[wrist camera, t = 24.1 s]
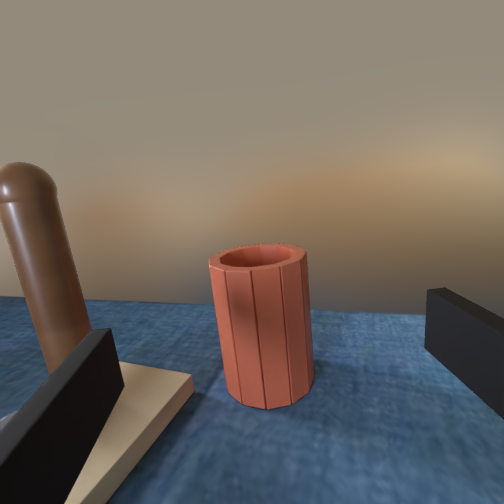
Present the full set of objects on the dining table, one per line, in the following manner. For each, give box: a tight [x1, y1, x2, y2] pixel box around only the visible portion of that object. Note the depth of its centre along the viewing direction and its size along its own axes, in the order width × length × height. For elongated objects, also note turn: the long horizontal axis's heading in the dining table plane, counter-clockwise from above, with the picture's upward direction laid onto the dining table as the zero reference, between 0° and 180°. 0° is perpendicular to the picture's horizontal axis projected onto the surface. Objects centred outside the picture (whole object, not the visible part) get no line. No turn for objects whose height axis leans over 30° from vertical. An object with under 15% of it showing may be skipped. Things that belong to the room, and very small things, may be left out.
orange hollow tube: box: [209, 243, 314, 409], centre depth 23 cm, size 7×7×10 cm
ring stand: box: [0, 162, 194, 504], centre depth 18 cm, size 10×10×18 cm
